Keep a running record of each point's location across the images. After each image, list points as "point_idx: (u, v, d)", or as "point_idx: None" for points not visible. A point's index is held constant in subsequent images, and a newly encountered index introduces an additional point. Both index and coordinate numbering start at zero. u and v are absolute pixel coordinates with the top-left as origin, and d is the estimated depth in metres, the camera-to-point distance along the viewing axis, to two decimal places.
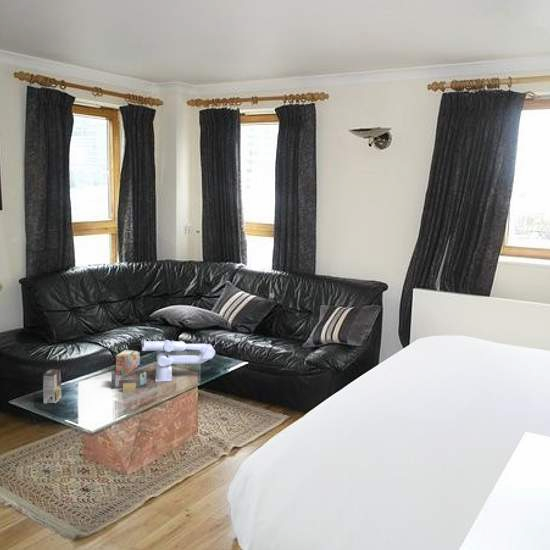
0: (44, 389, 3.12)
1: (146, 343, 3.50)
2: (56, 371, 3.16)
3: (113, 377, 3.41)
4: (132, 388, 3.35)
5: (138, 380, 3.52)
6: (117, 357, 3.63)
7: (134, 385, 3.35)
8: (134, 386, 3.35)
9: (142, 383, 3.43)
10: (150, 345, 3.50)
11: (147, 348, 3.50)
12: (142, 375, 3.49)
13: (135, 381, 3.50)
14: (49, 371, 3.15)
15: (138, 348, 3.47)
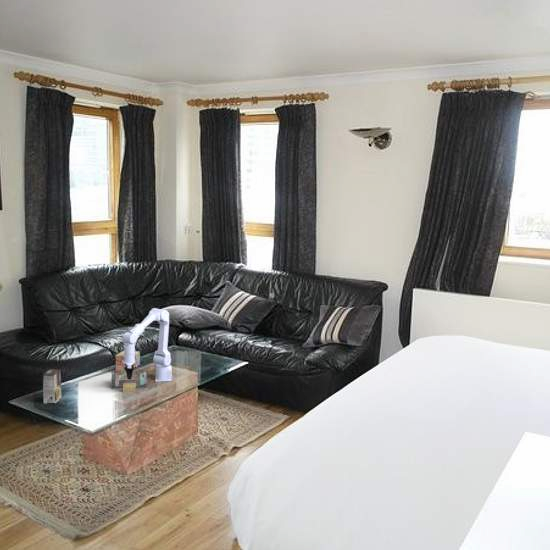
0: (44, 389, 3.12)
1: (125, 361, 3.31)
2: (56, 371, 3.16)
3: (113, 377, 3.41)
4: (132, 388, 3.35)
5: (138, 380, 3.52)
6: (117, 357, 3.63)
7: (134, 385, 3.35)
8: (134, 386, 3.35)
9: (142, 383, 3.43)
10: (127, 357, 3.30)
11: (131, 360, 3.31)
12: (142, 375, 3.49)
13: (135, 381, 3.50)
14: (49, 371, 3.15)
15: (130, 370, 3.30)
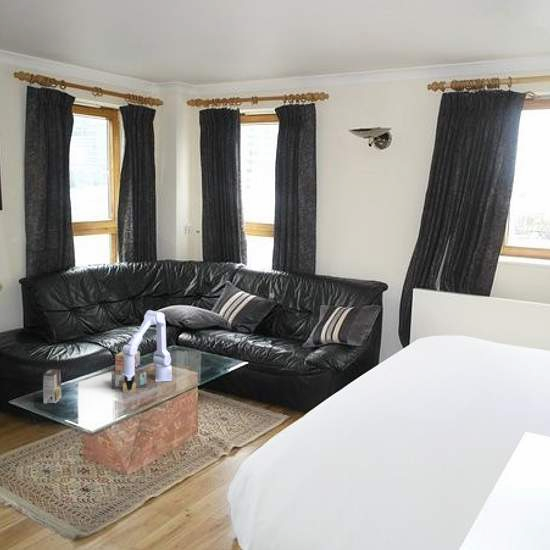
0: (44, 389, 3.12)
1: (125, 373, 3.32)
2: (56, 371, 3.16)
3: (113, 377, 3.41)
4: (132, 387, 3.35)
5: (138, 380, 3.52)
6: (116, 357, 3.64)
7: (134, 385, 3.35)
8: (134, 386, 3.35)
9: (142, 383, 3.43)
10: (127, 369, 3.31)
11: (131, 372, 3.32)
12: (142, 375, 3.49)
13: (135, 381, 3.50)
14: (49, 371, 3.15)
15: (130, 381, 3.33)
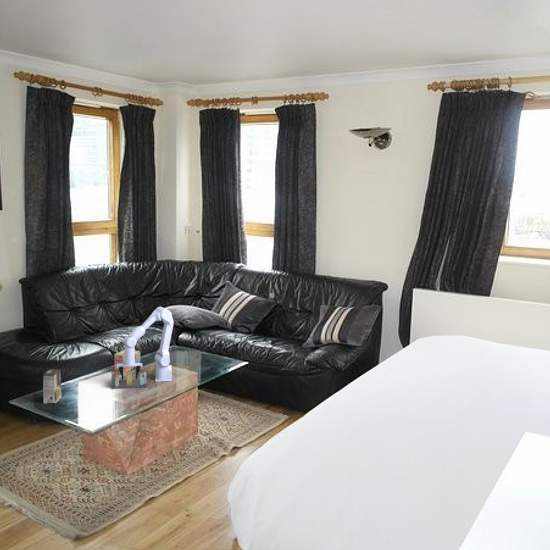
0: (44, 389, 3.12)
1: None
2: (56, 371, 3.16)
3: (113, 377, 3.41)
4: None
5: (138, 380, 3.52)
6: (115, 356, 3.65)
7: None
8: None
9: (142, 383, 3.43)
10: None
11: None
12: (142, 375, 3.49)
13: (135, 381, 3.50)
14: (49, 371, 3.15)
15: None
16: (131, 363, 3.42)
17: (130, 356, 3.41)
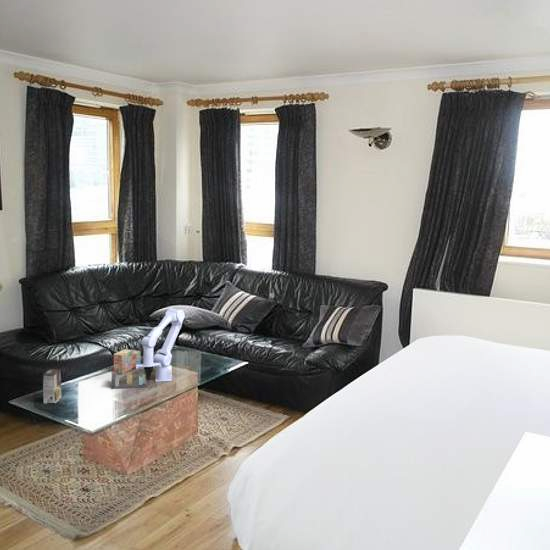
0: (44, 389, 3.12)
1: None
2: (56, 371, 3.16)
3: (113, 377, 3.41)
4: None
5: (138, 380, 3.52)
6: (115, 356, 3.65)
7: None
8: None
9: (141, 383, 3.43)
10: (143, 359, 3.47)
11: (144, 362, 3.45)
12: (141, 375, 3.49)
13: (135, 381, 3.50)
14: (49, 371, 3.15)
15: None
16: (151, 363, 3.45)
17: (151, 356, 3.44)
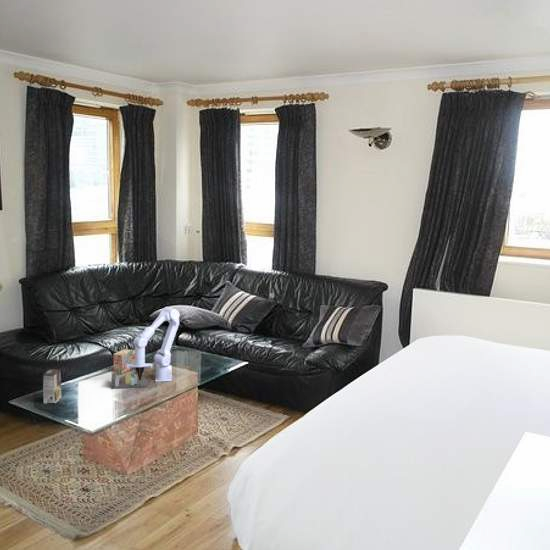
0: (44, 389, 3.12)
1: None
2: (56, 371, 3.16)
3: (113, 377, 3.41)
4: None
5: (138, 380, 3.52)
6: (114, 356, 3.66)
7: None
8: None
9: (133, 383, 3.42)
10: None
11: (135, 362, 3.44)
12: (133, 375, 3.48)
13: None
14: (49, 371, 3.15)
15: None
16: (141, 364, 3.44)
17: (141, 356, 3.43)
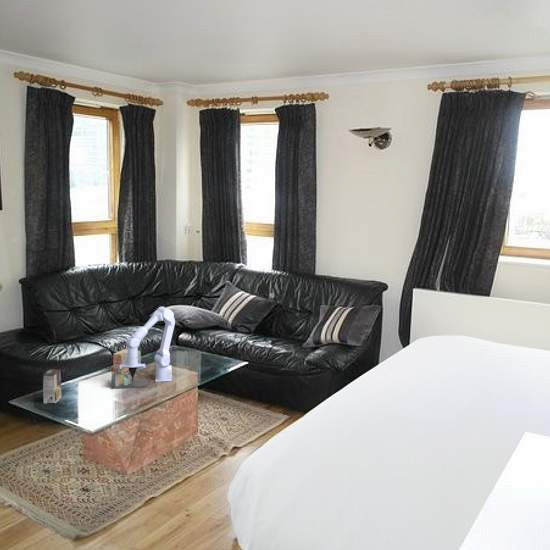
0: (44, 389, 3.12)
1: None
2: (56, 371, 3.16)
3: (113, 377, 3.41)
4: None
5: (138, 380, 3.52)
6: (114, 355, 3.66)
7: None
8: None
9: (126, 384, 3.41)
10: None
11: None
12: (126, 376, 3.47)
13: (135, 381, 3.50)
14: (49, 371, 3.15)
15: None
16: (134, 364, 3.43)
17: (133, 357, 3.42)
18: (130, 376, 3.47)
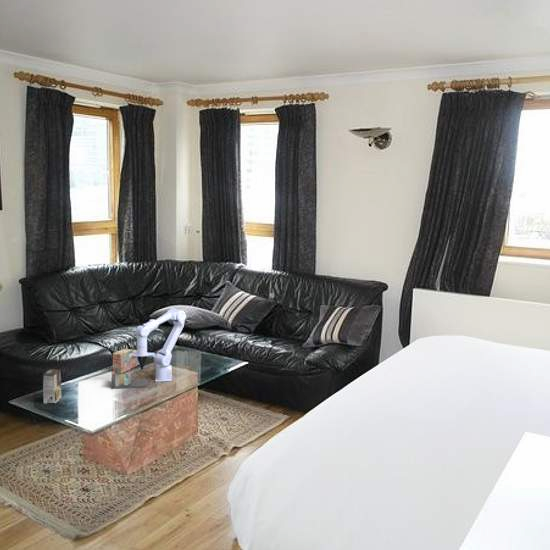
0: (44, 389, 3.12)
1: None
2: (56, 371, 3.16)
3: (113, 377, 3.41)
4: None
5: (138, 380, 3.52)
6: (114, 355, 3.67)
7: None
8: None
9: (126, 384, 3.41)
10: None
11: (137, 351, 3.44)
12: (126, 376, 3.47)
13: (135, 381, 3.50)
14: (49, 371, 3.15)
15: None
16: (143, 353, 3.43)
17: (143, 346, 3.42)
18: (130, 376, 3.47)
